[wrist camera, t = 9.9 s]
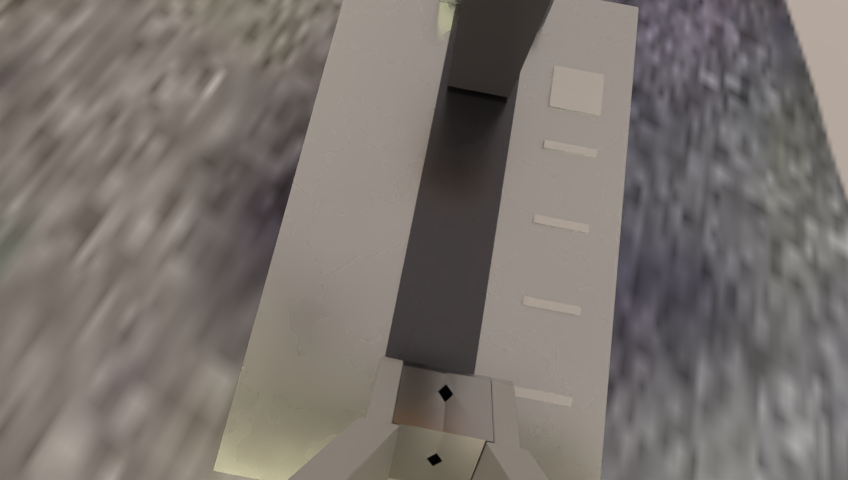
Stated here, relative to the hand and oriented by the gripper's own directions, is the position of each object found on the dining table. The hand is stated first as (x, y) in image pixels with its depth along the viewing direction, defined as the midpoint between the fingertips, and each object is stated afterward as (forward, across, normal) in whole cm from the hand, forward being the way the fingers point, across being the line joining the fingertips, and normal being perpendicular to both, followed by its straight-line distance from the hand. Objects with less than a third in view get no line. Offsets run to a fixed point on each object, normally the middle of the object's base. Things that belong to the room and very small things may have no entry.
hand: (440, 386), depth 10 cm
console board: (+9, 0, 0) cm, 9 cm away
